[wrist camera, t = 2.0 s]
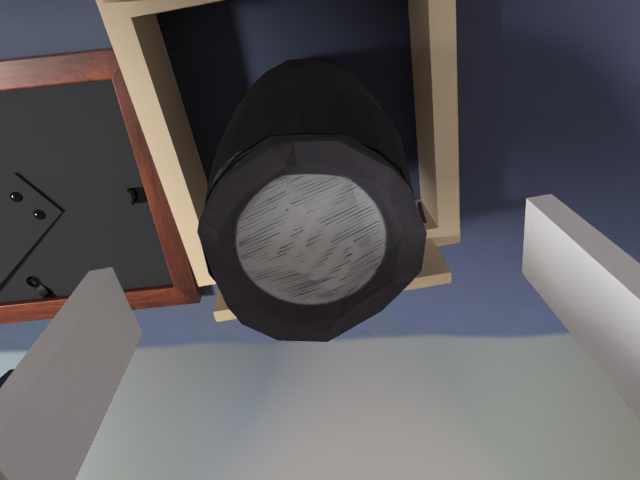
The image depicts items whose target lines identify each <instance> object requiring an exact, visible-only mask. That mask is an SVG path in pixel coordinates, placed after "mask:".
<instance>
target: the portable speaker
mask: <svg viewBox="0 0 640 480" xmlns="http://www.w3.org/2000/svg"><path fill="white" fill-rule="evenodd" d="M417 205H418V208H417ZM417 205H416V202H415V199H414V195H413V190H412V186H411V181H410V176H409V172H408V167H407V163H406V158H405V154H404V149H403V145H402V140H401V136H400V135H399V133H398V132H397V130H396V128H395V127H394V125H393V124H392V122H391V121H390V119H389V118H388V116H387V114H386V113H385V112H384V110H383V109H382V108H381V106H380V105H379V104H378V102H377V101H376V100H375V98H374V97H373V96H372V94H371V93H370V92H369V91H368V90H367V88H366V87H365V86H364V85H363V84H362V82H361V81H360V80H359V79H358V77H357V76H355V75H354V74H352V73H351V72H350V71H348V70H347V69H345V68H344V67H342V66H341V65H338V64H334V63H330V62H326V61H322V60H318V59H314V58H310V59H296V60H287V61H285V62H283V63H282V64H280V65H278V66H276V67H274V68H272V69H270V70H269V71H267V72H266V73H264V74H263V75H262V76H261V77H260V78H259V79H258V80H257V81H256V82H255V83H254V84H253V85H252V86H251V88H250V89H249V91H248V92H247V93H246V95H245V96H244V97H243V99H242V100H241V102H240V103H239V104H238V106H237V108H236V110H235V112H234V114H233V116H232V118H231V120H230V122H229V124H228V126H227V128H226V130H225V132H224V134H223V136H222V138H221V140H220V142H219V145H218V148H217V151H216V155H215V158H214V162H213V165H212V169H211V172H210V176H209V181H208V187H207V193H206V199H205V205H204V210H203V212H202V214H201V217H200V219H199V224H198V230H197V233H198V236H199V239H200V242H201V246H202V249H203V253H204V257H205V261H206V265H207V269H208V273H209V275H210V276H211V277H212V279H213V280H214V281H215V282H216V284H217V286H218V288H219V290H220V292H221V295H222V297H223V299H224V301H225V303H226V305H227V307H228V309H229V310H230V311H231V312H232V313H233V314H234V315H235V316H236V318H237V319H238V320H239V321H240V322H241V323H242V324H243V325H245V326H247V327H250V328H252V329H254V330H256V331H258V332H261V333H263V334H265V335H267V336H269V337H272V338H274V339H276V340H285V341H319V342H328V341H330V340H331V339H333V338H335V337H337V336H339V335H340V334H342V333H344V332H346V331H347V330H349V329H351V328H353V327H354V326H356V325H358V324H360V323H361V322H363V321H365V320H367V319H368V318H370V317H372V316H374V315H375V314H377V313H379V312H380V311H382V310H383V309H384V308H385V307H386V306H387V305H388V304H389V303H390V302H391V301H392V300H394V299H395V298H396V297H397V296H398V295H399V294H400V293H401V292H402V291H403V290H404V289H405V288H406V287H407V286H408V285H409V284H410V283H411V282H412V281H413V280H414V279H415V278H416V276H417V275H418V274H419V273H420V272H421V271H422V265H423V258H424V251H425V243H426V236H427V232H426V229H425V226H424V224H423V223H427V221H426V218H425V214H424V211H423V208H422V204H421V201H420V202H418V203H417Z"/></svg>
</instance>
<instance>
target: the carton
mask: <svg viewBox="0 0 640 480" xmlns="http://www.w3.org/2000/svg"><path fill="white" fill-rule="evenodd" d="M220 1H225V0H96V3H97V5H98V8H99V11H100V14H101V17H102V19H103V22H104V25H105V28H106V30H107V33H108V36H109V39H110V42H111V44H112V47H113V50H114V53H115V55H116V58H117V61H118V64H119V67H120V69H121V72H122V75H123V78H124V80H125V83H126V86H127V89H128V92H129V94H130V97H131V100H132V103H133V105H134V108H135V111H136V114H137V117H138V119H139V122H140V125H141V128H142V130H143V133H144V136H145V139H146V142H147V144H148V147H149V150H150V153H151V155H152V158H153V161H154V164H155V167H156V169H157V172H158V175H159V178H160V180H161V183H162V186H163V189H164V192H165V194H166V197H167V200H168V203H169V205H170V208H171V211H172V214H173V217H174V219H175V222H176V225H177V228H178V230H179V233H180V236H181V239H182V242H183V244H184V247H185V250H186V253H187V255H188V258H189V261H190V264H191V267H192V269H193V272H194V275H195V278H196V280H197V283H198V286H199V287H200V286H206V285H212V284H216V282H215V281H214V280H213V279H212V277H211V276H210V275H209V273H208V269H207V265H206V261H205V257H204V253H203V249H202V246H201V242H200V239H199V236H198V233H197V230H198V224H199V219H200V217H201V214H202V212H203V210H204V205H205V199H206V193H207V187H208V183H207V180H206V176H205V173H204V170H203V167H202V163H201V160H200V157H199V154H198V150H197V147H196V144H195V140H194V137H193V134H192V131H191V127H190V124H189V121H188V118H187V114H186V111H185V108H184V105H183V101H182V98H181V95H180V92H179V88H178V85H177V82H176V79H175V75H174V72H173V69H172V66H171V62H170V59H169V56H168V53H167V49H166V46H165V43H164V39H163V36H162V33H161V30H160V26H159V23H158V20H157V17H156V14H157V13H163V12H168V11H173V10H178V9H183V8H189V7H194V6H199V5H204V4H210V3H215V2H220ZM408 8H409V24H410V40H411V55H412V71H413V87H414V102H415V118H416V134H417V150H418V165H419V181H420V197H421V199H418V200H415V202H416V205H417V203H418V202H420V201H421V204H422V208H423V211H424V214H425V218H426V221H427V223H423V224H424V226H425V229H426V232H427V236H426V243H425V251H424V258H423V265H422V271H421V272H420V273H419V274H418V275H417V276H416V278H415V279H414V280H413V281H412V282H411V283H410V284H409V285H408V286H407V287H406V288H405V289H404V290H403V291H406V290H412V289H418V288H424V287H430V286H436V285H442V284H448V283H451V271H450V269H449V268H448V266H447V264H446V262H445V260H444V259H443V257H442V255H441V253H440V252H439V250H438V248H437V246H443V245H449V244H455V243H460V205H459V151H458V96H457V42H456V0H408ZM417 208H418V205H417ZM213 313H214V316H215V319H216V322H219V321H225V320H231V319H237V318H236V316H235V315H234V314H233V313H232V312H231V311H230V310H229V309H228V307H227V305H226V303H225V301H224V299H223V297H222V295H221V292H220V290H218V294H217V298H216V302H215V306H214V310H213Z"/></svg>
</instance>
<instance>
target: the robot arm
mask: <svg viewBox="0 0 640 480" xmlns="http://www.w3.org/2000/svg"><path fill="white" fill-rule="evenodd" d="M522 273H523V275H524V276H525V277H526V278H527V280H528V281H529V282H530V283H531V285H532V286H533V287H534V288H535V290H536V291H537V292H538V293H539V295H540V296H541V297H542V298H543V300H544V301H545V302H546V303H547V305H548V306H549V307H550V308H551V310H552V311H553V312H554V313H555V315H556V316H557V317H558V318H559V320H560V321H561V322H562V323H563V325H564V326H565V327H566V328H567V330H568V331H569V332H570V333H571V335H572V336H573V337H574V338H575V340H576V341H577V342H578V343H579V345H580V346H581V347H582V348H583V350H584V351H585V352H586V353H587V355H588V356H589V357H590V358H591V359H592V361H593V362H594V363H595V365H596V366H597V367H598V368H599V370H601V372H602V373H603V374H604V376H605V377H606V378H607V380H608V381H609V382H610V383H611V384H612V386H613V387H614V388H615V390H616V391H617V392H618V393H619V394H620V396H621V397H622V398H623V400H624V401H625V402H626V403H627V405H628V406H629V407H630V408H631V410H632V411H633V412H634V413H635V415H636V416H637V417H638V418H639V420H640V263H638V262H637V261H636V260H634V259H633V258H632V257H631V256H629V255H628V254H627V253H626V252H624V251H623V250H622V249H621V248H619V247H618V246H617V245H616V244H614V243H613V242H612V241H610V240H609V239H608V238H607V237H605V236H604V235H603V234H602V233H600V232H599V231H598V230H597V229H595V228H594V227H593V226H591V225H590V224H589V223H588V222H586V221H585V220H584V219H583V218H581V217H580V216H579V215H578V214H576V213H575V212H574V211H573V210H571V209H570V208H569V207H567V206H566V205H565V204H564V203H562V202H561V201H560V200H559V199H557V198H556V197H555V196H554V195H552V194H548V195H542V196H536V197H530V198H526V211H525V229H524V246H523V263H522ZM142 334H143V333H142V331H141V329H140V327H139V324H138V322H137V320H136V318H135V316H134V314H133V311H132V309H131V307H130V305H129V303H128V300H127V298H126V296H125V294H124V292H123V290H122V287H121V285H120V283H119V281H118V279H117V276H116V274H115V272H114V270H113V268H112V267H110V268H104V269H98V270H92V271H89V272H88V273H87V274H86V276H85V277H84V278H83V280H82V281H81V282H80V284H79V285H78V286H77V288H76V289H75V290H74V292H73V293H72V294H71V296H70V297H69V298H68V299H67V301H66V302H65V303H64V305H63V306H62V307H61V309H60V310H59V311H58V313H57V314H56V315H55V317H54V318H53V319H52V321H51V322H50V323H49V325H48V326H47V327H46V328H45V330H44V331H43V332H42V334H41V335H40V336H39V338H38V339H37V340H36V342H35V343H34V344H33V346H32V347H31V348H30V350H29V351H28V352H27V354H26V355H25V356H24V358H23V359H22V360H21V361H20V363H19V364H18V365H17V367H16V368H15V369H12V370H9V371H8V372H7V373H5V374H4V375H3V376H2V377H1V378H0V480H75V479H76V476H77V475H78V472H79V470H80V468H81V466H82V464H83V461H84V459H85V457H86V455H87V453H88V451H89V449H90V446H91V444H92V442H93V440H94V438H95V436H96V433H97V431H98V429H99V427H100V425H101V422H102V420H103V418H104V416H105V414H106V412H107V410H108V407H109V405H110V403H111V401H112V399H113V396H114V394H115V392H116V390H117V388H118V385H119V383H120V381H121V379H122V377H123V375H124V373H125V370H126V368H127V366H128V364H129V362H130V360H131V357H132V355H133V353H134V351H135V349H136V347H137V344H138V342H139V340H140V338H141V336H142Z"/></svg>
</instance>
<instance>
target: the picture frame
mask: <svg viewBox="0 0 640 480" xmlns="http://www.w3.org/2000/svg"><path fill="white" fill-rule="evenodd" d="M110 267H112V268H113V270H114V272H115V274H116V276H117V279H118V281H119V283H120V285H121V287H122V290H123V292H124V294H125V296H126V298H127V300H128V303H129V305H130V307H131V309H132V310H135V309H144V308H154V307H163V306H173V305H182V304H191V303H200V300H201V297H202V293H201V289H200V287H199V286H198V283H197V280H196V278H195V275H194V272H193V269H192V267H191V264H190V261H189V258H188V255H187V253H186V250H185V247H184V244H183V242H182V239H181V236H180V233H179V230H178V228H177V225H176V222H175V219H174V217H173V214H172V211H171V208H170V205H169V203H168V200H167V197H166V194H165V192H164V189H163V186H162V183H161V180H160V178H159V175H158V172H157V169H156V167H155V164H154V161H153V158H152V155H151V153H150V150H149V147H148V144H147V142H146V139H145V136H144V133H143V130H142V128H141V125H140V122H139V119H138V117H137V114H136V111H135V108H134V105H133V103H132V100H131V97H130V94H129V92H128V89H127V86H126V83H125V80H124V78H123V75H122V72H121V69H120V67H119V64H118V61H117V58H116V55H115V53H114V50H113V48H108V49H98V50H89V51H79V52H70V53H60V54H51V55H41V56H32V57H22V58H13V59H3V60H0V324H3V323H13V322H22V321H31V320H41V319H50V318H54V317H55V315H56V314H57V313H58V311H59V310H60V309H61V307H62V306H63V305H64V303H65V302H66V301H67V299H68V298H69V297H70V296H71V294H72V293H73V292H74V290H75V289H76V288H77V286H78V285H79V284H80V282H81V281H82V280H83V278H84V277H85V276H86V274H87V273H88V272H89V271H92V270H98V269H104V268H110Z"/></svg>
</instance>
